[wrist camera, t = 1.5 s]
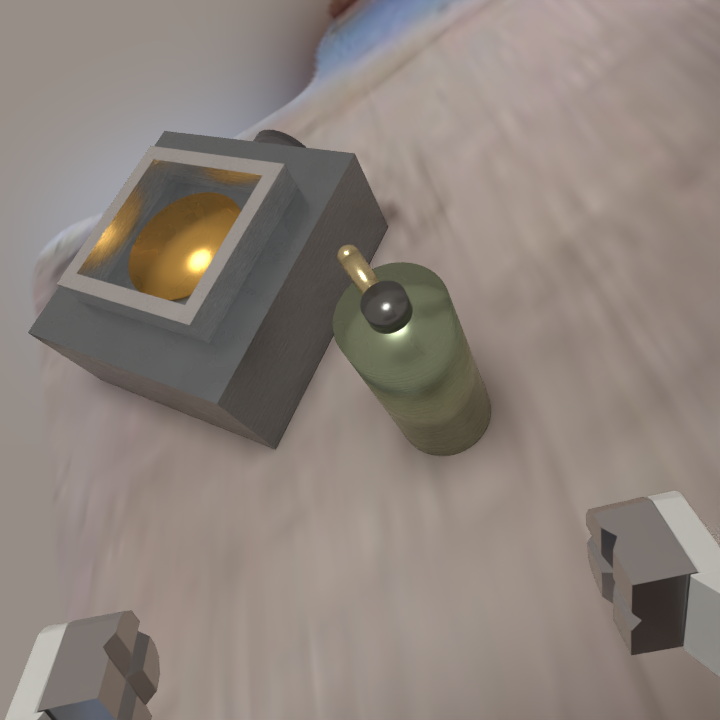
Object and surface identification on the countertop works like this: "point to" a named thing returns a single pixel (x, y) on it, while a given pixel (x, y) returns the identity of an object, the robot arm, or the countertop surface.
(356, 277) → the spout can
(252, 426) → the gearbox housing
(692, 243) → the countertop surface
